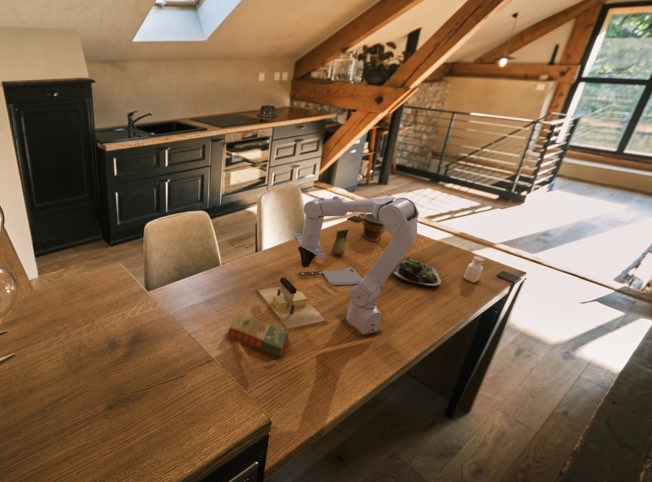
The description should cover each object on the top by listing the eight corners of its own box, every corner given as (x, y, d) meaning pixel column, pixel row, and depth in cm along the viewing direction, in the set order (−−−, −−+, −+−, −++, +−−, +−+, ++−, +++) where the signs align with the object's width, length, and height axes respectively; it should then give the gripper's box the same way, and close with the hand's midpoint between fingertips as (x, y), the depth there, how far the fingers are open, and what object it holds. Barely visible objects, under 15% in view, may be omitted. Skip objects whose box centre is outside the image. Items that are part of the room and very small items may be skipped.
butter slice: (286, 309, 127) (287, 302, 126) (278, 311, 127) (279, 303, 125) (279, 302, 131) (281, 294, 130) (272, 303, 130) (273, 296, 129)
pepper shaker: (467, 275, 151) (475, 254, 147) (478, 280, 148) (487, 259, 144) (462, 278, 149) (470, 257, 145) (474, 283, 146) (483, 262, 142)
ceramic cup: (387, 239, 176) (392, 220, 172) (374, 245, 171) (380, 225, 167) (362, 228, 186) (366, 209, 182) (349, 232, 181) (353, 213, 177)
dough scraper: (294, 303, 125) (296, 289, 123) (289, 304, 125) (291, 290, 123) (282, 290, 131) (285, 277, 129) (278, 291, 131) (280, 277, 129)
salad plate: (385, 255, 163) (387, 246, 161) (433, 265, 156) (436, 256, 155) (388, 280, 146) (391, 269, 145) (442, 292, 140) (446, 282, 138)
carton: (237, 322, 123) (238, 311, 121) (287, 341, 116) (289, 330, 114) (227, 338, 116) (229, 327, 114) (280, 359, 109) (282, 348, 107)
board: (325, 322, 123) (328, 311, 122) (287, 330, 120) (289, 319, 118) (291, 286, 141) (293, 276, 139) (257, 292, 137) (258, 282, 135)
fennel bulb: (342, 251, 165) (347, 226, 160) (346, 257, 161) (352, 232, 156) (328, 250, 165) (333, 226, 161) (332, 256, 161) (337, 231, 156)
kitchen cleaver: (306, 285, 140) (295, 268, 149) (306, 287, 141) (295, 270, 150) (368, 282, 144) (353, 266, 152) (367, 284, 144) (353, 268, 153)
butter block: (306, 305, 130) (307, 298, 128) (289, 308, 128) (290, 301, 127) (299, 298, 133) (300, 291, 132) (282, 301, 131) (284, 294, 130)
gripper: (335, 241, 124) (327, 276, 130) (309, 221, 137) (303, 254, 142) (317, 243, 122) (310, 279, 128) (292, 223, 135) (286, 256, 140)
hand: (305, 266), depth 135 cm, fingers closed
